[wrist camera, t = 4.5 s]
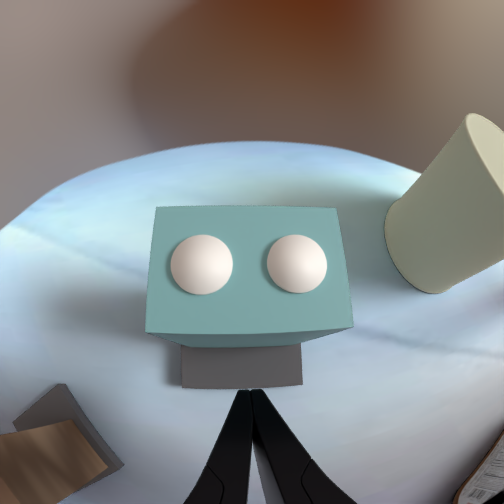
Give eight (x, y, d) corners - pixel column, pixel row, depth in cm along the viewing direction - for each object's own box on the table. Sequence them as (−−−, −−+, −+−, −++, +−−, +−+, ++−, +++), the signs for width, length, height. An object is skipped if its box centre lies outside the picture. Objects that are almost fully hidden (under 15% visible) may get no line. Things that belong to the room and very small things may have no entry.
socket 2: (298, 383, 16) (302, 384, 15) (184, 386, 15) (181, 388, 15) (292, 279, 19) (295, 275, 18) (185, 280, 18) (182, 276, 17)
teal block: (291, 345, 16) (355, 326, 7) (190, 347, 15) (143, 331, 7) (287, 281, 17) (337, 205, 9) (191, 282, 17) (155, 204, 8)
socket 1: (124, 464, 13) (119, 469, 12) (69, 493, 11) (63, 497, 10) (65, 383, 14) (58, 384, 13) (19, 421, 12) (12, 422, 11)
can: (389, 291, 19) (509, 216, 8) (376, 189, 22) (446, 88, 11) (466, 295, 19) (565, 243, 8) (449, 207, 23) (521, 136, 12)
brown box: (108, 467, 12) (30, 519, 3) (62, 490, 10) (-9, 528, 1) (71, 419, 13) (-24, 438, 4) (31, 447, 11) (-51, 465, 2)
